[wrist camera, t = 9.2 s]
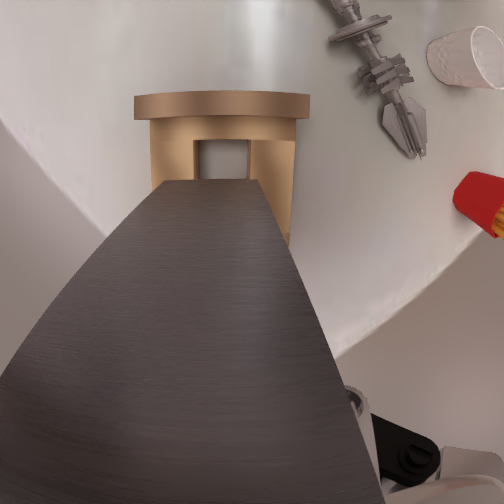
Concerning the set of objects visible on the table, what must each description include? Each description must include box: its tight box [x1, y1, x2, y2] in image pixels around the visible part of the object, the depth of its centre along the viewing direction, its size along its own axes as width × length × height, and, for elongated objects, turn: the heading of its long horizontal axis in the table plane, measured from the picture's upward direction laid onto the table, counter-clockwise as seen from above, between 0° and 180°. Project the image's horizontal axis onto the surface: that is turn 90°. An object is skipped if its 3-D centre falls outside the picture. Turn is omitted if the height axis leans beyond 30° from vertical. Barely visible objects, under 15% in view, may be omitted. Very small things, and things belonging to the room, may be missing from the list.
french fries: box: [453, 172, 504, 240], centre depth 30 cm, size 9×4×13 cm, turn 138°
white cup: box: [426, 26, 504, 90], centre depth 23 cm, size 8×8×10 cm
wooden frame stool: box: [134, 91, 310, 246], centre depth 29 cm, size 14×18×10 cm
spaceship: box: [328, 0, 427, 159], centre depth 23 cm, size 8×35×8 cm
